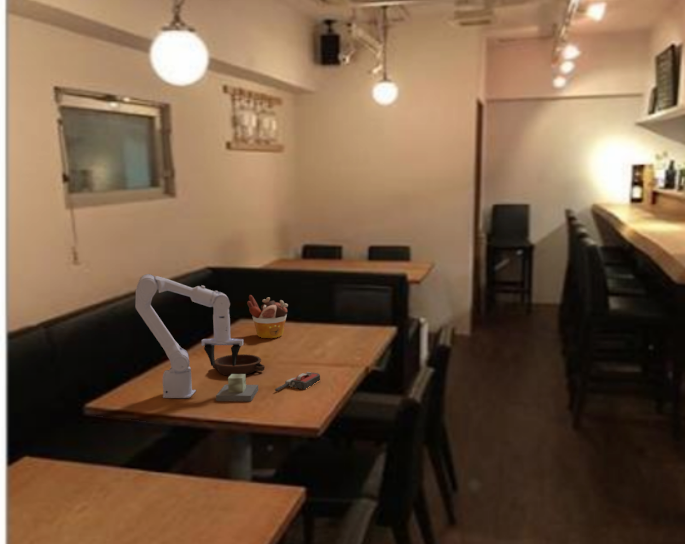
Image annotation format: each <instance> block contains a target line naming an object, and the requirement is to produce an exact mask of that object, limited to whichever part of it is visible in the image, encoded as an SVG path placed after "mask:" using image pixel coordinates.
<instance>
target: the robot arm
mask: <svg viewBox="0 0 685 544" xmlns="http://www.w3.org/2000/svg"><path fill="white" fill-rule="evenodd" d="M157 290H158V293H159V294H160V293H163V292H167V291H168V292H171V293H175V294H179V295H182V296H186V297H189V298H190V300H191V302H192V303H193V302H194V303H196V304H199V305H203V306H205V307H208V308H213V314H212V320H213V323H212V324H213V338H203V339H201V346H204V347H203V349H204V351H205V353H206V355H207V357H208V359H209V363H210V366H212V367H213V365H214V364H215V360H216V359H215V346H231V347H230V351H231V355H232V366H235V365H236V359H237V355H238V354H239V351H240V350H241V347H242V346H244V338H232V337H231V318H230V317H231V316H230V306H231V302H230V299H229V297H228V296H227V294H225V293H224V292H221V291H218V290H213V289H212V290H211V289H209V288H206V286H205V285H202V284H201V286H200V285H197V286H195V287H191V286H188V285H185V284H183V283H179V282H177V281H175V280H171V279H169V278H167V277H163V276H158V275H153V274H150V273H147V274H144V275H142V276H141V277H140V278H139V280H138V282H137V285H136V289H135V304H134V305H135V310H136V311H137V312H138V314H139V315H140V317H141V318H142V320H143V322H144V323H145V324H146V326H147V327H148V328H149V330H150V332H151V333H152V334H153V336H154V337H155V338H156V341H158V343H159V344H160V347H162V348H163V350H164V352H165V354H166V356H167V358H168V359H169V362H170V367H169V369H167V370H166V369H165V370H164V372H163V374H162V390H163V391H162V392H163V393H162V398H163V399H190V398H191V397H192V396H193V395H194V394H195V393H196V391H197V389H193V385H192V367H191V366H190V355H189V352H188V351H187V350H186V349H184V348H182V347H181V345H179V344H180V343H178V342H177V341H176V340H175V339H174V337H173V335H172V334H171V332H170V331H169V329H168V328H167V327H166V325H165V324H164V322H163V321H162V319H161V317H159V315H158V313H157V312H156V311H155V309H154V308H153V306H152V301H153V298H154V296H155V295H156V293H157Z"/></svg>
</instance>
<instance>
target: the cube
mask: <svg viewBox="0 0 685 544" xmlns="http://www.w3.org/2000/svg"><path fill="white" fill-rule="evenodd" d="M246 376H247V374H231V375H230V376H229V375H228V378H227V383H228V390H229V392H244V390H245V389H246V385H247V381H246V380H247V379H246V378H247V377H246Z"/></svg>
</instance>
